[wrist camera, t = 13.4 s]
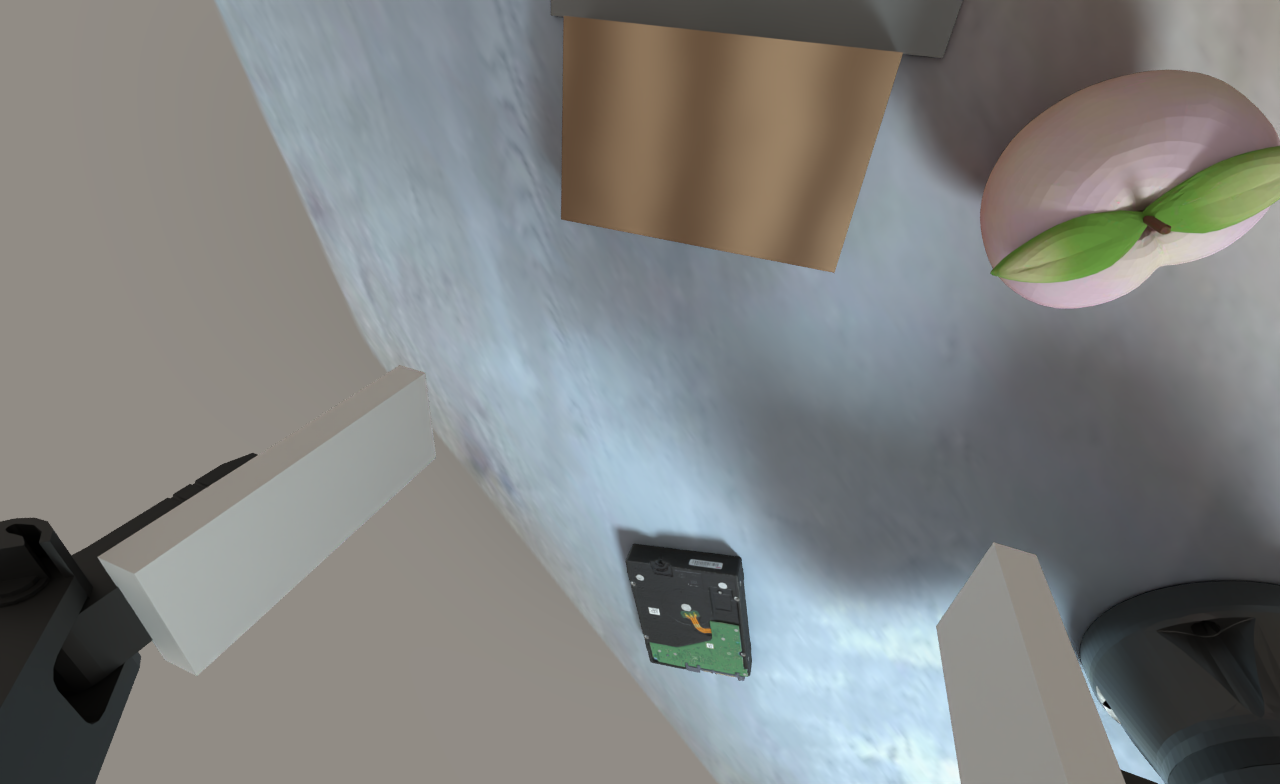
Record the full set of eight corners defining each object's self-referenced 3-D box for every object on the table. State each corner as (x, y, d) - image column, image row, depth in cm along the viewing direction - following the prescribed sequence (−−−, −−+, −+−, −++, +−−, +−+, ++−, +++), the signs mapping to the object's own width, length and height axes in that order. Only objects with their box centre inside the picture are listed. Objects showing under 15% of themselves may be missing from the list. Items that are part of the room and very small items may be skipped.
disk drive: (632, 538, 50) (657, 641, 57) (622, 560, 48) (649, 665, 54) (742, 550, 46) (755, 659, 53) (737, 575, 44) (751, 685, 51)
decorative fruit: (1142, 15, 22) (1313, -11, 14) (1222, 175, 24) (1415, 233, 16) (920, 168, 27) (953, 214, 19) (1000, 291, 29) (1060, 379, 21)
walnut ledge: (897, 53, 25) (903, 52, 23) (834, 256, 31) (834, 272, 28) (587, 19, 29) (563, 15, 26) (581, 208, 34) (561, 219, 32)
